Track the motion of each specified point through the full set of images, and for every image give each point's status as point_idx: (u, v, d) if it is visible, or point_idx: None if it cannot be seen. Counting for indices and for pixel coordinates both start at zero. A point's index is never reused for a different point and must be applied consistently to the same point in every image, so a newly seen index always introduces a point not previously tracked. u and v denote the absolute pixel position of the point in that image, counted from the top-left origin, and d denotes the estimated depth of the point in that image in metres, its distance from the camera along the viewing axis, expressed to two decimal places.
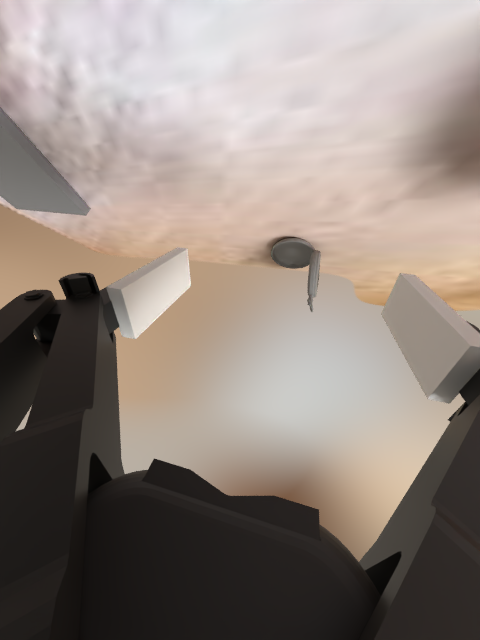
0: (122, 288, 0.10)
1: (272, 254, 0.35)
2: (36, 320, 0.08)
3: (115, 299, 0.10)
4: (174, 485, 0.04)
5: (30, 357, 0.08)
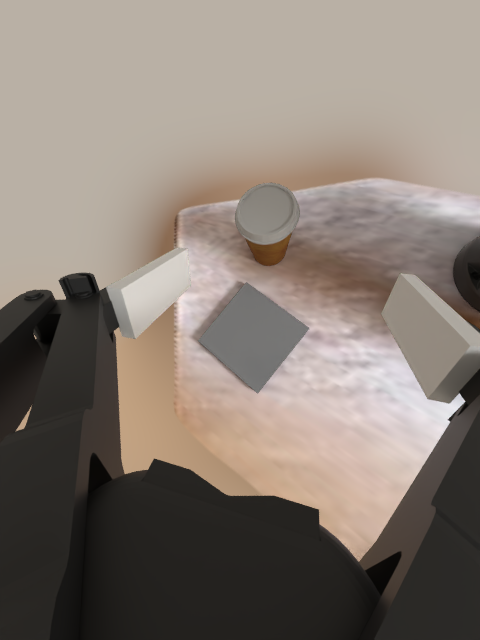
0: (122, 288, 0.10)
1: None
2: (36, 320, 0.08)
3: (115, 299, 0.10)
4: (174, 485, 0.04)
5: (30, 357, 0.08)
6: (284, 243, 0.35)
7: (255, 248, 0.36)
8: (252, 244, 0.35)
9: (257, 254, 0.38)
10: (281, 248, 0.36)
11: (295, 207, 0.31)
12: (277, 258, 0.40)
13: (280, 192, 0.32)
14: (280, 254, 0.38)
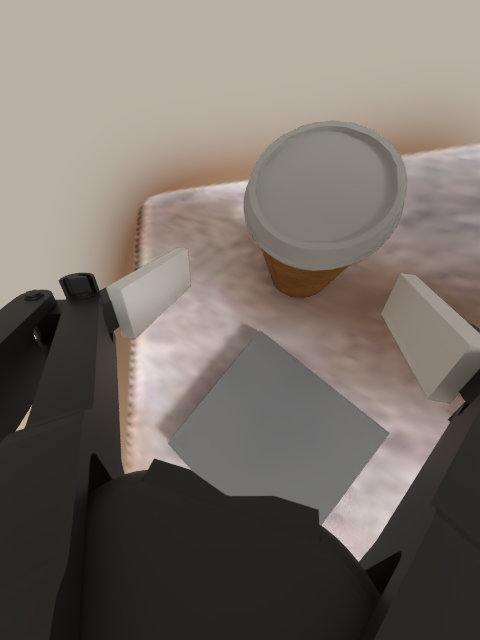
0: (122, 288, 0.10)
1: None
2: (36, 320, 0.08)
3: (115, 299, 0.10)
4: (174, 485, 0.04)
5: (30, 357, 0.08)
6: None
7: (285, 273, 0.17)
8: (281, 266, 0.16)
9: (284, 282, 0.19)
10: (339, 273, 0.17)
11: (402, 178, 0.12)
12: (320, 288, 0.21)
13: (355, 145, 0.13)
14: None
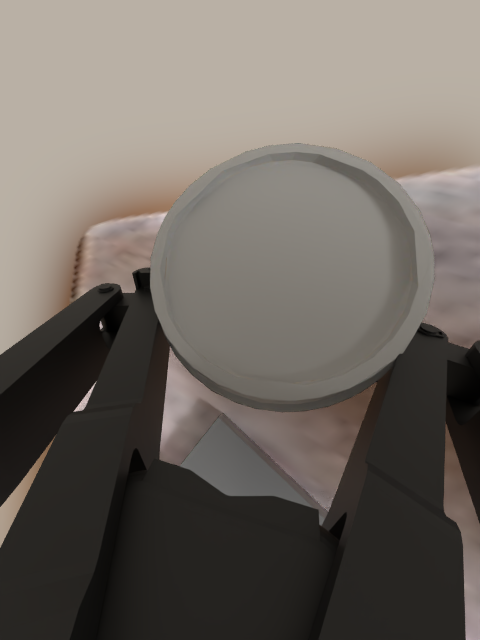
0: None
1: None
2: (103, 313, 0.09)
3: None
4: (174, 485, 0.04)
5: (93, 347, 0.08)
6: None
7: None
8: None
9: None
10: None
11: (426, 256, 0.06)
12: None
13: (337, 185, 0.07)
14: None
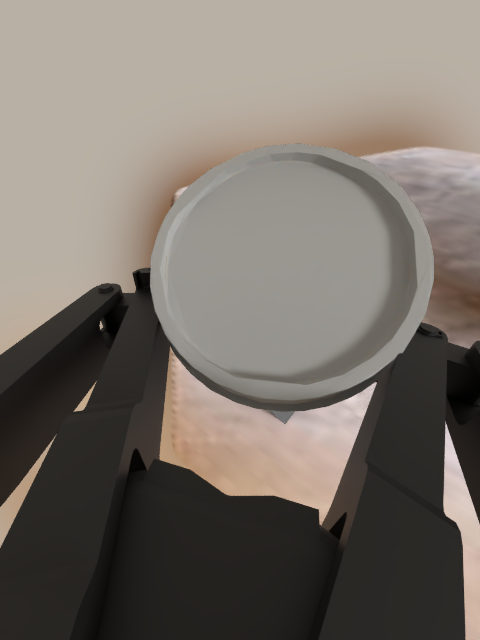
0: None
1: None
2: (103, 313, 0.09)
3: None
4: (174, 485, 0.04)
5: (93, 347, 0.08)
6: None
7: None
8: None
9: None
10: None
11: (426, 256, 0.06)
12: None
13: (337, 186, 0.07)
14: None
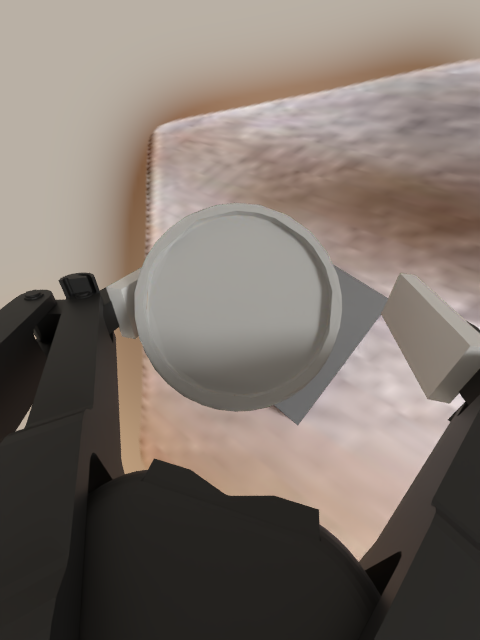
0: (122, 288, 0.10)
1: None
2: (36, 320, 0.08)
3: (115, 299, 0.10)
4: (174, 485, 0.04)
5: (30, 357, 0.08)
6: None
7: None
8: None
9: None
10: None
11: (337, 310, 0.09)
12: None
13: (286, 244, 0.10)
14: None
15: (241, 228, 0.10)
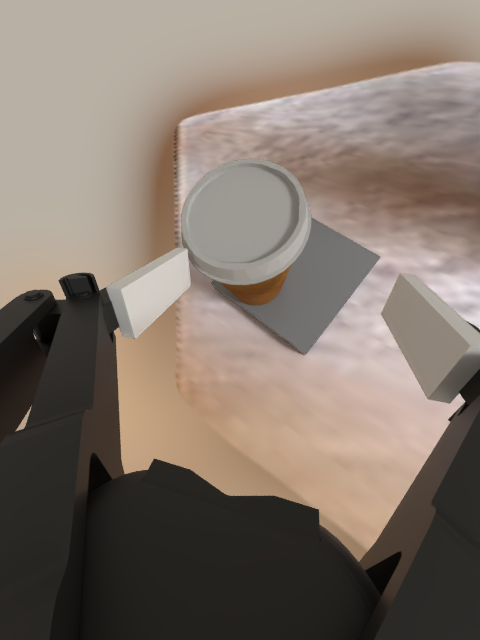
0: (122, 288, 0.10)
1: None
2: (36, 320, 0.08)
3: (115, 299, 0.10)
4: (174, 485, 0.04)
5: (30, 357, 0.08)
6: (281, 277, 0.18)
7: (226, 286, 0.19)
8: None
9: (233, 293, 0.21)
10: (275, 285, 0.19)
11: (303, 208, 0.14)
12: (269, 297, 0.23)
13: (270, 179, 0.15)
14: (274, 292, 0.22)
15: (242, 174, 0.16)
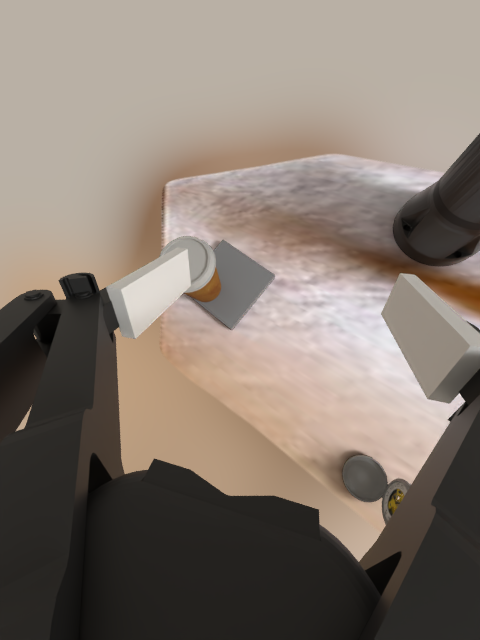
0: (122, 288, 0.10)
1: (345, 465, 0.36)
2: (36, 320, 0.08)
3: (115, 299, 0.10)
4: (174, 485, 0.04)
5: (30, 357, 0.08)
6: (208, 288, 0.38)
7: None
8: None
9: None
10: (207, 291, 0.39)
11: (209, 260, 0.34)
12: (209, 297, 0.42)
13: (197, 245, 0.35)
14: (210, 294, 0.41)
15: (185, 242, 0.35)
